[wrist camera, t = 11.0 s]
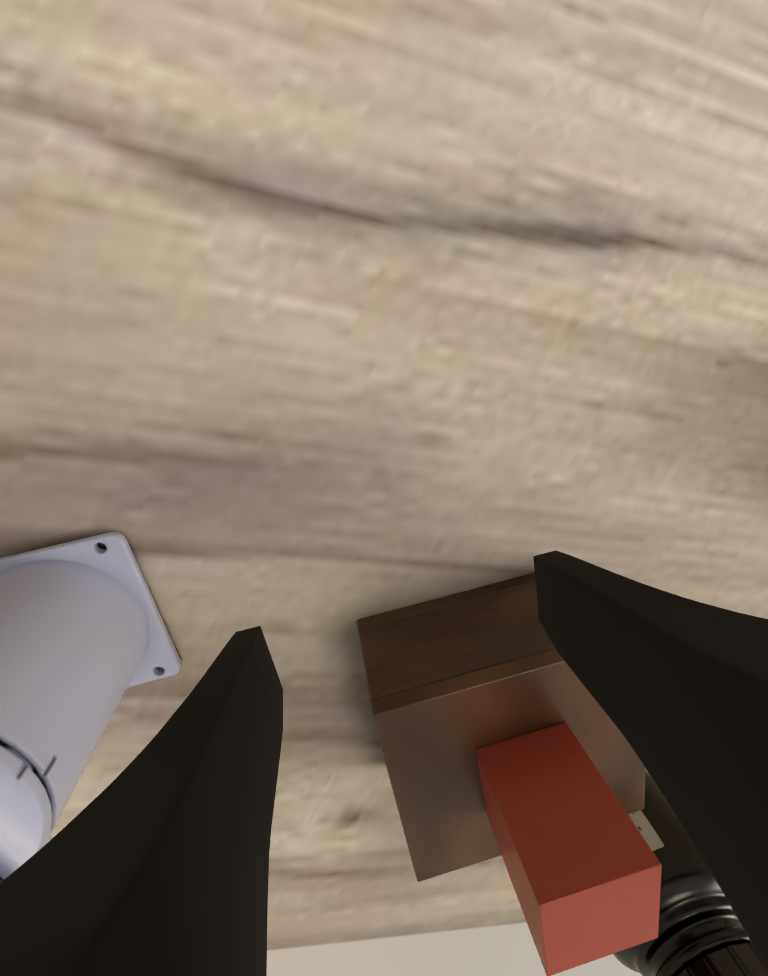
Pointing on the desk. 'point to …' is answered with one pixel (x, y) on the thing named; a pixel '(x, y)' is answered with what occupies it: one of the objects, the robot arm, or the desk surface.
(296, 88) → the desk surface
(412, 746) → the brown open wooden box
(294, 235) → the desk surface
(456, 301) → the desk surface
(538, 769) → the block
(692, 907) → the ink bottle
